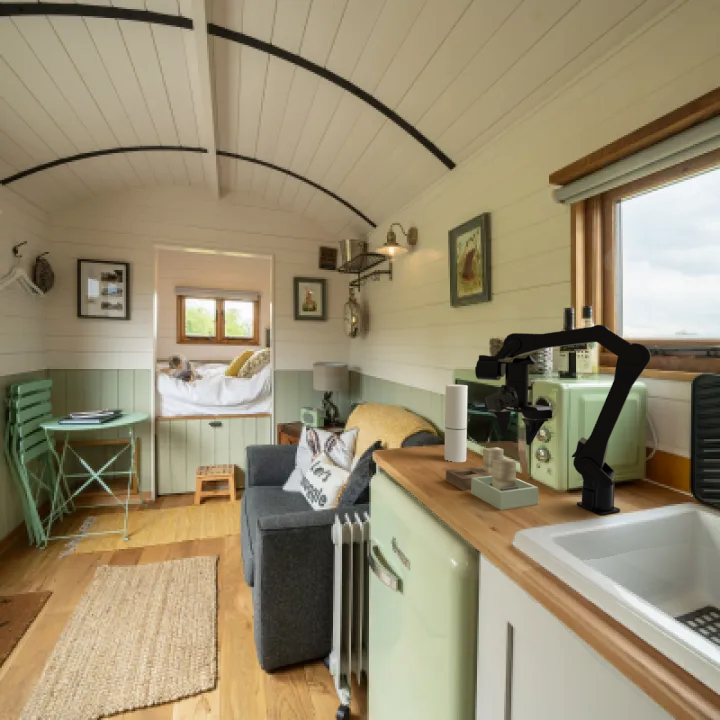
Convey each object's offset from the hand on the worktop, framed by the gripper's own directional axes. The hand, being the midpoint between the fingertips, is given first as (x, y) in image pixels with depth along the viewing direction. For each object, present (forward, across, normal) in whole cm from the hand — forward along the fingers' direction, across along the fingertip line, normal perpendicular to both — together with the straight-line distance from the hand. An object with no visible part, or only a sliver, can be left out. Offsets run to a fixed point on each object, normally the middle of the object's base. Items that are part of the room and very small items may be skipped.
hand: (515, 440), depth 102 cm
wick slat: (+13, -8, 0) cm, 15 cm away
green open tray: (+13, +4, -7) cm, 15 cm away
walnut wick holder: (+13, -8, -5) cm, 16 cm away
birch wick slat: (+13, +4, -7) cm, 15 cm away
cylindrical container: (+13, -30, +2) cm, 33 cm away
